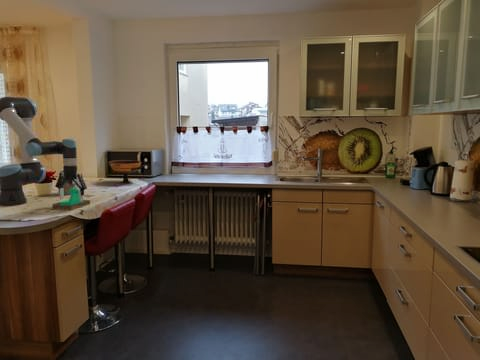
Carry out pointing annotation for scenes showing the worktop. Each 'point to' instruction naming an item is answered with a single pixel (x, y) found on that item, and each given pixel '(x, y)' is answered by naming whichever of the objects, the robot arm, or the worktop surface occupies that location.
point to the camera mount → (72, 198)
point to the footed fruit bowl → (125, 168)
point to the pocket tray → (71, 207)
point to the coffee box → (68, 185)
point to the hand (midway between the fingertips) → (71, 199)
